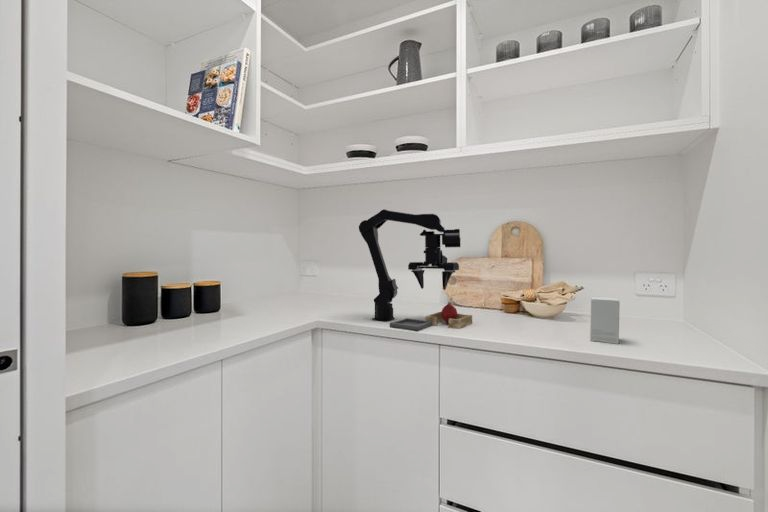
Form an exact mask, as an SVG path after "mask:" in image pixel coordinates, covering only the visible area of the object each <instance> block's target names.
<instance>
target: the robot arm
mask: <svg viewBox="0 0 768 512" xmlns="http://www.w3.org/2000/svg"><path fill="white" fill-rule="evenodd" d="M387 221H392V222H398V223H404V224H410V225H411V224H412V225H416V226H419V227H422V228H425V229H423V230H422V231H421V233H419V236H421V237H424V247H425V249H424V250H423V254H425V255H424V258H425V260H424V261H413V262H412V261H411V262H409V263H408V266H407V268H408V270H409V271H410V272H411V273H412V274H414V276H415V278H416V280H417V282H418V285H419V286H420V288H421V289H424V286H425V285H424V281H425V280H424V279H425V278H424V274H425V269H436V270H437V269H440V270H441V269H442V270H444V271H442V272H441V274H442V275H441V276H442V289H443V290H444V291H445V290H446V289H447V286H448V284H449V281H450V278H451V277H452V274H453V273H456V271H459V270H460V265H459V263H458V261H457V262H451V261H450V262H448V258H447V256H445V255H444V254H443V250H441V244H442V245H443V246H444V247H445V248H461V233H460V232H461V231H460V228H456V229H445V227H444V226H443V225H442V222H441V219H440V217H439V216H438V215H437V214H435V213H421V214H419V213H418V214H413V213H408V212H400V211H394V210H388V209H381V210H380V211H379V212H378V213H376V214H374V215H373V216H371V217H369V218H368V219H366V220H362V221H361V222H360V223H359V225H358V230H359V233H360V235H361V237H362V238H363V240H364V241H365V243H366V245H367V247H368V250H369V253H370V257H371V260H372V263H373V265H374V269H375V272H376V275H377V279H378V293H379V294H378V295H377V296H376V297H375V298H374V299H373V302H374V303H373V304H374V317H372V319H371V320H373V319H375V320H376V321H381V320H382V321H383V322H387V321H388V322H389V321H392V320H395V317H394V307H393V303H392V302H393V299H394V298H395V297H396V296H397V294H398V289H399V287H398V286H397V280H396V278H391V277H390V275H389V273H388V268H387V266H386V263H385V259H384V256H383V253H382V250H381V246H380V244H379V233H378V229H380V228H381V227H382V226H383V225H384V224H386V222H387ZM426 229H427V230H430V231H427V230H426ZM435 230H436V231H437V232H439V233H435Z"/></svg>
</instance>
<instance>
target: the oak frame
mask: <svg viewBox="0 0 768 512" xmlns="http://www.w3.org/2000/svg"><path fill="white" fill-rule="evenodd" d="M441 312H442V311H439V312H435V313H432V314H429V315H426V316H425V321H433V326H438V322H440V321H444V320H443V318H442V316H441ZM472 324H473V314H466V313H465V314H464V313H457V318H456V319H449V324H448V328H449V329H457V330H460V329H463V328H465V327H467V326H469V325H472Z"/></svg>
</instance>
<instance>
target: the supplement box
mask: <svg viewBox="0 0 768 512" xmlns="http://www.w3.org/2000/svg"><path fill="white" fill-rule="evenodd" d="M620 304H621V303H620V299H619V298H618V297H604V296H603V297H602V296H592V297H591V299H590V330H589V331H590V332H589V337H590V338H589V339H590V341H591V342H592V341H593V342H599V343H607V344H617V345H618V344H620V343H619V341H620Z"/></svg>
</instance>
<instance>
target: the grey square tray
mask: <svg viewBox="0 0 768 512" xmlns="http://www.w3.org/2000/svg"><path fill="white" fill-rule="evenodd" d="M433 326H434V325H433V321H426V319H425V320H423V319H417V318H410V317H409V318H407V317H406V318H403V319H399V320H395V321H392V322H389V328H392V329H398V330H399V329H401V330H407V331H413V332H419V331H422V330H424V329H428V328H430V327H433Z"/></svg>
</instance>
